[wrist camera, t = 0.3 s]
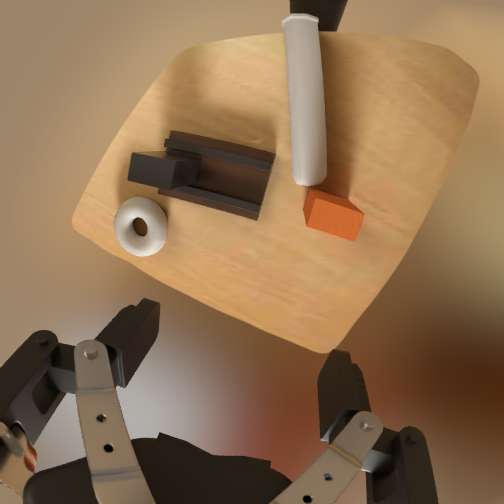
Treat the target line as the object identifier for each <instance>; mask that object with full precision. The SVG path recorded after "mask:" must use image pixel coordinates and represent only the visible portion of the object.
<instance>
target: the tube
mask: <svg viewBox="0 0 504 504" xmlns="http://www.w3.org/2000/svg"><path fill="white" fill-rule="evenodd" d="M317 25H318V18H317V17H314V16H312V15H309V14H289V15H287V16H286V17H284V18H282V27H283V28H284V34H285V45H286V58H287V72H288V88H289V105H290V126H291V152H292V175H293V177H294V179H295V181H296V183H297V184H300V185H305V186H313V185H316V184H320V183H322V181H323V180H324V178H325V177H326V175H327V148H326V120H325V101H324V86H323V74H322V62H321V52H320V43H319V34H318V26H317Z"/></svg>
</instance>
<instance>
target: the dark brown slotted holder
mask: <svg viewBox="0 0 504 504" xmlns="http://www.w3.org/2000/svg"><path fill="white" fill-rule="evenodd" d="M164 147H167V149H166V151H156V152H133V153H132V156H131V162H130V167H129V173H128V181H132V182H136V183H141V184H145V185H149V186H153V187H157V188H159V190H158V194H162V195H165V196H169V197H173V198H177V199H181V200H184V201H188V202H192V203H196V204H199V205H203V206H207V207H210V208H214V209H217V210H221V211H225V212H228V213H232V214H235V215H239V216H242V217H246V218H249V219H253V220H256V221H257V220H258V217H259V213H260V210H261V206H262V202H263V199H264V195H265V192H266V188H267V184H268V181H269V177H270V174H271V170H272V166H273V163H274V159H275V156H276V154H273V153H270V152H266V151H262V150H259V149H255V148H251V147H247V146H243V145H239V144H234V143H230V142H226V141H221V140H217V139H212V138H207V137H203V136H198V135H193V134H187V133H182V132H177V131H171V132H170V136H169V139H165V143H164Z"/></svg>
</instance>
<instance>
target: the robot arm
mask: <svg viewBox="0 0 504 504" xmlns="http://www.w3.org/2000/svg"><path fill="white" fill-rule="evenodd" d="M159 318H160V303H158V302H156V301H153V300H149V299H147V298H143V299H142V300H141V302H140V303H139V304H138V305H137V306H134V305H129V306H127V307H125V308H123V309H122V310H121V311H120V312H119V313H118V314H117V315H116V317H114V318H113V319H112V321H111V322H110V323H109V324H108V325H107V326H106V327H105V328H104V329H103V330H102V331H101V332H100V334H99V335H98V336H97V337H96V338H95V339H94V340H85V341H82V342H80V343H78V344H77V345H76V346H72V345H67V344H62V343H58V339H57V336H56V335H55V334H54V333H53V332H51V331H47V330H40V331H37V332H35V333H33V334H32V335H31V336H30V337H29V338H28V339H27V340H26V341H25V342H24V343H23V344H22V345H21V346H20V347H19V348H18V349H17V350H16V351H15V352H14V354H13V355H12V356H11V357H10V358H9V359H8V360H7V361H6V362H5V363H4V364H3V366H2V367H1V368H0V483H1V484H5V485H6V486H7V487H8V488H10V489H11V490H12V491H14V492H15V493H16V494H18V495H19V496H20V497H22V498H23V504H334V502H335V501H336V500H337V499H338V498H339V496H340V495H341V494H342V493H343V491H344V490H345V489H346V488H347V486H348V485H349V484H350V483H351V481H352V480H353V479H354V477H355V476H356V475H357V473H358V472H359V471H360V469H361V470H364V471H366V489H367V490H366V491H367V504H438V498H437V492H436V486H435V480H434V475H433V470H432V465H431V461H430V456H429V452H428V447H427V443H426V439H425V436H424V435H423V433H422V432H421V431H420V430H419V429H417V428H415V427H411V426H408V427H405V428H403V429H402V430H401V431H400V432H396V431H393V430H390V429H387V428H385V427H383V424H382V421H381V420H380V418H379V417H378V416H376V415H375V414H373V413H372V412H371V408H370V404H369V399H368V394H367V390H366V386H365V382H364V378H363V373H362V371H361V370H360V368H359V367H358V366H357V364H353V363H352V362H351V357H350V354H349V352H346V351H341V350H336V349H333V350H332V351H331V352H330V354H329V356H328V358H327V360H326V362H325V364H324V366H323V368H322V369H321V371H320V374H319V377H318V382H317V387H318V403H319V422H320V440H325V441H329V446H328V447H327V448H326V449H325V451H324V452H323V453H322V454H321V455H320V456H319V457H318V458H317V459H316V460H315V461H314V462H313V463H312V464H311V466H309V467H308V469H306V470H305V471H304V472H303V473H302V474H301V475H300V476H299V477H298V478H297V479H296V480H295V481H294V482H291V480H290V479H288V478H287V477H286V476H285V475H283V474H281V473H280V472H278V471H276V470H274V469H272V468H270V464H271V461H269V460H263V459H257V458H252V457H246V456H217V455H212V454H210V453H208V452H206V451H204V450H202V449H200V448H198V447H196V446H194V445H192V444H191V443H189V442H187V441H184V440H181V439H178V438H175V437H172V436H169V435H166V434H163V433H159V435H158V437H157V439H156V438H137V439H132V440H130V438H129V434H128V431H127V428H126V425H125V421H124V418H123V414H122V411H121V407H120V403H119V400H118V396H117V391H116V386H117V385H118V386H120V387H123V388H126V386H127V385H128V383H129V381H130V380H131V378H132V377H133V375H134V373H135V372H136V370H137V369H138V367H139V365H140V364H141V362H142V361H143V359H144V358H145V356H146V354H147V353H148V351H149V350H150V348H151V347H152V345H153V344H154V342H155V340H156V338H157V335H158V331H159ZM66 393H72V394H76V402H77V409H78V416H79V421H80V427H81V433H82V438H83V443H84V448H85V452H86V457H84V458H81V459H78V460H75V461H72V462H69V463H66V464H63V465H60V466H56V467H53V468H49V469H46V470H42V471H39V472H37V473H35V464H36V461H37V453H36V450H35V448H34V444H35V442H36V441H37V439H38V437H39V436H40V434H41V432H42V431H43V429H44V427H45V426H46V424H47V423H48V421H49V419H50V418H51V416H52V415H53V413H54V412H55V410H56V408H57V407H58V405H59V404H60V402H61V401H62V399H63V398H64V396H65V395H66Z"/></svg>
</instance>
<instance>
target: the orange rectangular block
mask: <svg viewBox="0 0 504 504" xmlns="http://www.w3.org/2000/svg"><path fill="white" fill-rule="evenodd" d="M303 211H304V216H305V221H306V226H307V227H309V228H313V229H316V230H319V231H322V232H325V233H328V234H332V235H335V236H338V237H341V238H344V239H347V240H350V241H353V242H355V240H356V237H357V234H358V231H359V229H360V226H361V223H362V220H363V217H364V215H365V214H364V213H363V212H362V211H360V210H359V209H358V208H357V207H356V206H355V205H353V204H352V203H351V202H350V201H349V200H347V199H344V198H341V197H338V196H335V195H332V194H329V193H326V192H323V191H320V190H316V189H313V188H310V189H309V192H308V196H307V199H306V202H305V205H304V209H303Z"/></svg>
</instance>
